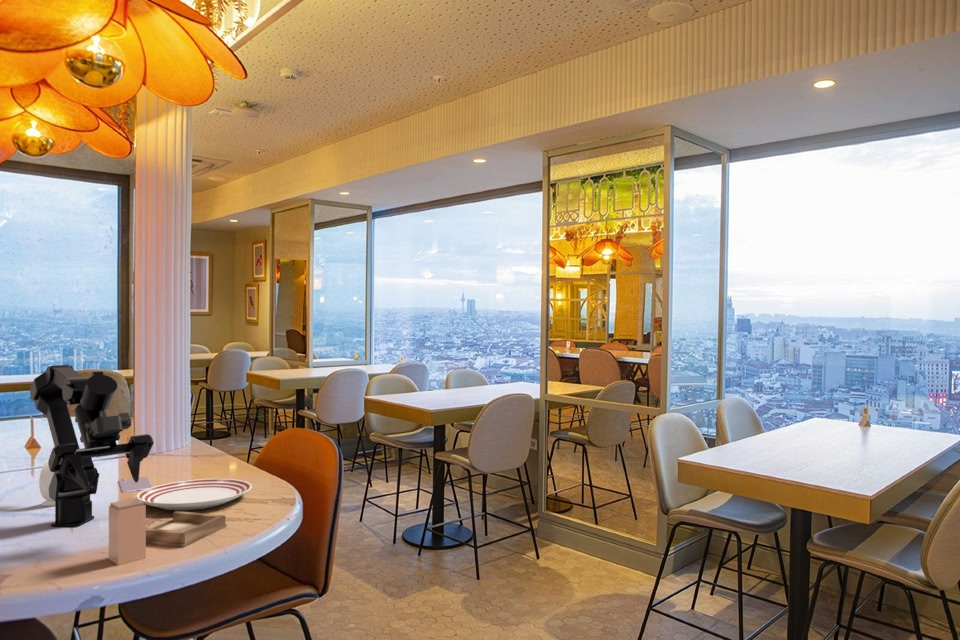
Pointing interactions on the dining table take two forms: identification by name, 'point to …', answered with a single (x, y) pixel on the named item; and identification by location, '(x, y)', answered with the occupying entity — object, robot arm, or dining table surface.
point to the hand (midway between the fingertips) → (113, 485)
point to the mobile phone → (134, 484)
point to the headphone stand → (46, 484)
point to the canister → (127, 531)
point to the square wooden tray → (185, 529)
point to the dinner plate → (194, 493)
